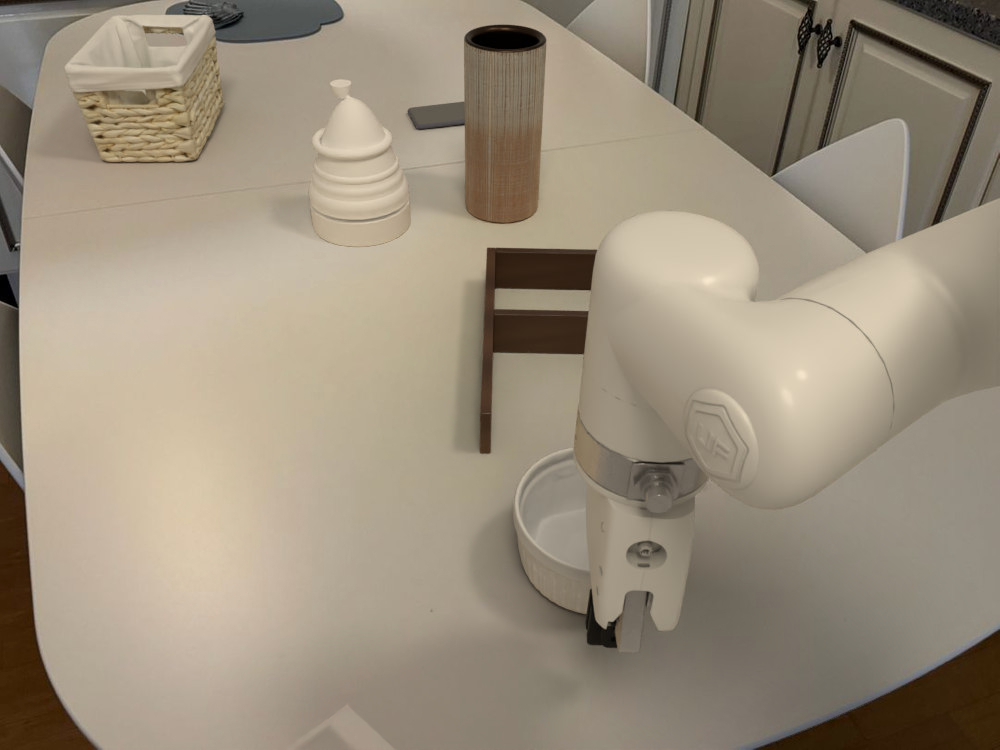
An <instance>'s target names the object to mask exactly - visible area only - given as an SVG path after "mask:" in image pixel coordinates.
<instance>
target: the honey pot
mask: <svg viewBox="0 0 1000 750" xmlns="http://www.w3.org/2000/svg"><path fill="white" fill-rule="evenodd" d="M329 87H330V90H331V93H332V94H333V96H334V97H335V98H336V99H338V100H341V101H340V102H339V103H337V105H336V106H335V108H334V109H333V110H332V112H331V113H330V116H329V118H328V120H327V122H326V124H325V126H323V127H322V128H320V129H319V130H316V132H315V133H314V134H313V135H312V137H311V141H310V144H311V146H312V148H313V150H314V151H315V152H316V153H317V155H316V157H315V159H314V161H313V170H312V173H311V180H310V181H309V185H308V195H309V197H308V198H309V199H308V200H309V207H310V215H311V222H312V228H313V230H314V233H315V234H316V235H317V236H318V237H319V238H320V239H323V240H324V241H325V242H328V243H330V244H335V245H337V246H342V247H352V248H361V247H362V248H364V247H365V248H366V247H372V246H378V245H382V244H386V243H389V242H392V241H394V240H396V239H397V238H399V237H401V236H403V234H405V233H406V232H407V231H408V229H409V227H411V204H410V203H411V202H410V191H409V190H410V189H409V188H410V187H409V186H410V185H409V182H408V181H409V180H408V179H407V178H406V176H405V174H404V171H403V168H402V167H401V165H400V159H399V157H398V155H397V154H396V152H395V150H394V148H393V146H392V144H393V135H392V133H391V131H390V130H389V129H387V128H386V127H384V126H383V125H381V123H380V121H379V119H378V118H377V116H376V115H375V114H374V112H373V111H372V109H370V107H369V106H368V105H367V104H366V103H364V102H363V101H362V100H360V99H358V98H355V97H352V96H351V95H350V94H351V92H352V81H351V80H348V79H342V78H341V79H334V80H332V81H330V82H329Z"/></svg>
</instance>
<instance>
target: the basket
mask: <svg viewBox="0 0 1000 750" xmlns="http://www.w3.org/2000/svg"><path fill="white" fill-rule="evenodd" d="M216 33H217V32H216V29H215V24H214V20H213V18H212V17H210V16H209V15H207V14H202V15H199V14H198V15H196V14H131V15H130V14H129V15H127V14H125V15H123V14H120V15H119V14H116V15H112V16H111V17H109V18H108V19H107V20H106V22H105V23H104V24H102V25H101V26H100V27H99V28H98V29H97V30H96V32H94V33H93V35H92V36H91V37H90V38H89V39H88V40H87V42H85V44H84V45H82V46H81V48H80V49H79V50H78V51H77V52H76V53H74V55H73V56H72V57H71V58H70V59H69V60H68V62H67V63H66V64H65V65H64V67H63V69H64V74H65V76H66V79H67V82H68V88H69V89H70V92H72V94H73V97H74V98H75V100H76V102H77V105H78V107H79V108H80V112H81V114H82V116H83V120H84V122H85V124H86V126H87V130H88V131H89V134H90V136H91V138H92V140H93V142H94V143H95V145H96V150H97V152H98V155H99V157H100V159H101V160H103V161H105V162H109V163H120V162H124V163H134V162H140V163H153V162H154V163H156V162H157V163H167V162H174V163H181V162H188V161H195V160H197V159H198V158H199V156H200V154H201V153H202V151H203V148H204V147H205V145H206V144H207V140H208V139H209V137H210V136H211V134H212V131H213V130H214V127H215V124H216V122H217V120H218V118H219V116H220V114H221V112H222V110H223V107H224V104H225V103H226V100H224V98H223V95H224V94H223V90H222V80H221V76H220V74H221V73H220V64H219V62H218V61H219V60H218V49H217V47H216V46H217V45H218V43H217V38H216ZM146 34H166V35H167V34H171V35H174V34H183V37H184V40H185V45H181V46H152V45H149V44H148V39H147V35H146Z"/></svg>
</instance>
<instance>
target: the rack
mask: <svg viewBox="0 0 1000 750" xmlns="http://www.w3.org/2000/svg"><path fill="white" fill-rule="evenodd" d="M597 250H598V249H588V248H587V249H583V248H541V247H539V248H535V247H534V248H533V247H531V248H530V247H486V257H485V258H486V259H485V261H486V262H485V284H484V286H485V287H484V307H483V309H484V310H483V331H482V332H483V333H482V356H481V358H482V359H481V381H480V382H481V383H480V384H481V385H480V405H479V406H480V407H479V453H480V454H491V451H492V419H493V418H492V413H493V412H492V411H493V379H494V378H493V377H494V376H493V375H494V371H493V370H494V353H515V354H517V353H518V354H519V353H520V354H563V355H565V354H566V355H567V354H569V355H584V350H585V341H586V331H587V322H588V313H589V310H562V309H561V310H559V309H557V310H556V309H515V308H514V309H513V308H512V309H508V308H506V309H505V308H495V296H496V289H520V290H521V289H522V290H525V289H526V290H568V291H573V290H574V291H575V290H576V291H577V290H578V291H591V285H592V275H593V268H594V262H595V256H596V252H597Z"/></svg>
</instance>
